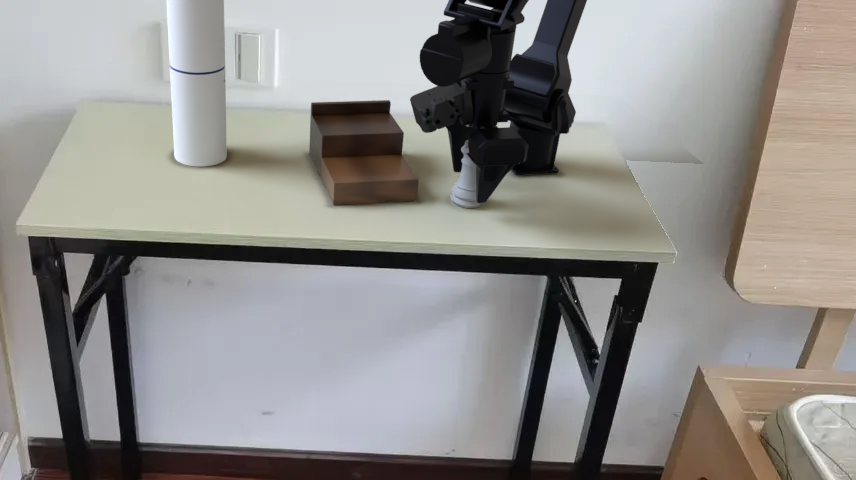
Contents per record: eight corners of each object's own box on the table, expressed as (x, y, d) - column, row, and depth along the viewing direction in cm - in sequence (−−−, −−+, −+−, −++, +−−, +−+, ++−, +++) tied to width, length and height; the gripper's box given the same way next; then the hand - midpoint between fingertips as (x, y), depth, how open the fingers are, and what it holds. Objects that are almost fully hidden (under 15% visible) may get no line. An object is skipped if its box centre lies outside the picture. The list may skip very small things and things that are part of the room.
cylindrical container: (164, 160, 131) (153, -34, 116) (190, 141, 136) (182, -46, 122) (211, 170, 129) (205, -26, 114) (235, 151, 134) (233, -38, 120)
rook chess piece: (448, 193, 127) (455, 135, 122) (482, 195, 127) (491, 137, 122) (450, 208, 123) (458, 149, 118) (485, 210, 123) (494, 151, 118)
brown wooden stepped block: (385, 151, 137) (389, 99, 133) (416, 200, 124) (422, 145, 120) (309, 154, 135) (310, 102, 130) (333, 205, 122) (336, 149, 118)
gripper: (399, 42, 120) (389, 159, 129) (444, 95, 106) (430, 223, 115) (484, 41, 123) (468, 156, 132) (539, 93, 108) (517, 218, 117)
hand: (469, 186), depth 124 cm, fingers open, 9 cm apart
